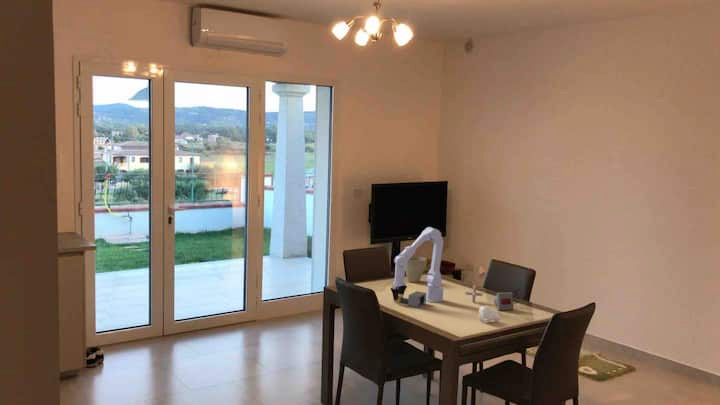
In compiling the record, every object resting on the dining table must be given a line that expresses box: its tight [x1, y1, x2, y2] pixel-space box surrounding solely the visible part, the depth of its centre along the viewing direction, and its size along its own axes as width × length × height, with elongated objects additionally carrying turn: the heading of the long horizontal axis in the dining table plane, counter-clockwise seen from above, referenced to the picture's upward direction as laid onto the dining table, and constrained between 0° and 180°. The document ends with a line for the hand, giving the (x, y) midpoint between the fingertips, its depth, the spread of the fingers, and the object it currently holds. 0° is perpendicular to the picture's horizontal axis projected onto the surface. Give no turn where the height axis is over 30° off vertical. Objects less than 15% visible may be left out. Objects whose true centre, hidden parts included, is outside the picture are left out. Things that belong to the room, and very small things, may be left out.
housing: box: [407, 290, 427, 309], centre depth 352 cm, size 6×12×6 cm, turn 152°
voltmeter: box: [493, 288, 522, 311], centre depth 359 cm, size 27×11×10 cm, turn 146°
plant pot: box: [405, 256, 427, 284], centre depth 413 cm, size 15×15×16 cm
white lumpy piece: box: [478, 305, 501, 325], centre depth 324 cm, size 6×8×12 cm
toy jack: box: [465, 285, 484, 303], centre depth 366 cm, size 10×10×10 cm
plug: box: [392, 294, 422, 306], centre depth 355 cm, size 16×4×4 cm, turn 62°
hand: (398, 298), depth 358 cm, fingers open, 7 cm apart
